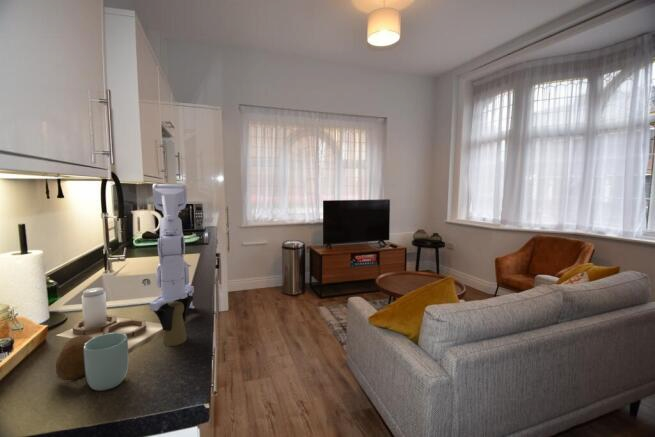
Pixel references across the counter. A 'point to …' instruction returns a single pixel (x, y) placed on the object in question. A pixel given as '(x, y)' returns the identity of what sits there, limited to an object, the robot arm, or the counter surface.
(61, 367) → the potato
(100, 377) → the cup
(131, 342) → the cruet stand
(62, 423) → the counter surface
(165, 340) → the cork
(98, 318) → the salt shaker
